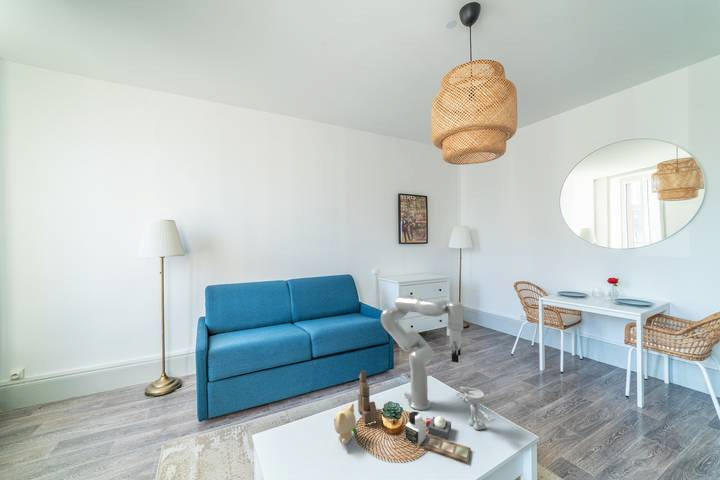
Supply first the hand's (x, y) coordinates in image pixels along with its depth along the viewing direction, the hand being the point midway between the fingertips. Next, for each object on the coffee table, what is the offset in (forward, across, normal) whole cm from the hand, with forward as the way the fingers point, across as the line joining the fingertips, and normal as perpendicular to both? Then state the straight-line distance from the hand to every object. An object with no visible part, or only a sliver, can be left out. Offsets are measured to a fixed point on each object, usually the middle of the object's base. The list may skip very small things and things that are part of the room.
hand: (456, 358), depth 147 cm
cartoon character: (+33, +2, +8) cm, 34 cm away
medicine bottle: (+33, +23, -16) cm, 43 cm away
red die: (+32, +10, -13) cm, 36 cm away
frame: (+32, +23, -16) cm, 43 cm away
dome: (+31, +13, -7) cm, 34 cm away
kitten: (+33, +37, -47) cm, 68 cm away
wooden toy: (+33, +17, -45) cm, 58 cm away
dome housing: (+32, +13, -7) cm, 36 cm away
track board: (+33, +24, -1) cm, 40 cm away
